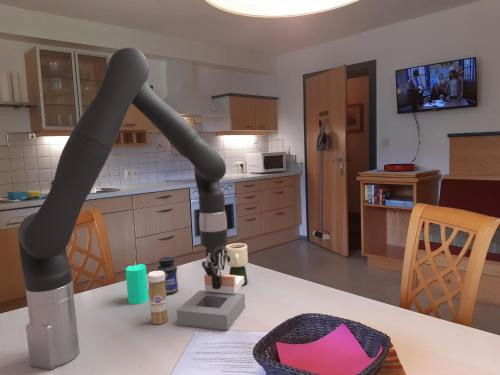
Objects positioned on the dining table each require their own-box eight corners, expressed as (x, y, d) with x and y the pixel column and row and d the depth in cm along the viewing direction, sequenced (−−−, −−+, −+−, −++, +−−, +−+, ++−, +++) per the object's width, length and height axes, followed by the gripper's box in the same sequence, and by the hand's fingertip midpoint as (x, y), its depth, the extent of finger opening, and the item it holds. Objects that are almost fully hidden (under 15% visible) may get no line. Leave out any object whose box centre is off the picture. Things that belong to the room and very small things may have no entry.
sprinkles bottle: (153, 326, 99) (149, 277, 98) (149, 319, 103) (145, 272, 102) (170, 322, 101) (166, 273, 100) (165, 315, 105) (162, 268, 104)
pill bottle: (159, 296, 119) (156, 262, 118) (158, 289, 125) (156, 257, 123) (179, 293, 120) (176, 260, 119) (177, 287, 126) (175, 254, 125)
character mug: (228, 278, 132) (226, 242, 131) (248, 277, 132) (246, 241, 131) (227, 290, 121) (225, 251, 120) (249, 289, 122) (247, 249, 120)
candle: (151, 296, 120) (148, 259, 118) (144, 304, 114) (141, 265, 112) (133, 296, 120) (129, 259, 119) (125, 304, 114) (121, 265, 113)
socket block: (227, 330, 95) (226, 315, 95) (177, 324, 99) (176, 310, 99) (245, 307, 108) (244, 293, 108) (200, 302, 113) (199, 290, 112)
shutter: (234, 294, 107) (233, 276, 107) (205, 291, 110) (204, 275, 109) (244, 282, 116) (243, 266, 115) (217, 280, 119) (216, 265, 118)
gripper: (216, 233, 97) (220, 298, 99) (234, 222, 109) (237, 280, 111) (190, 232, 99) (194, 296, 101) (210, 222, 112) (213, 278, 114)
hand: (217, 287), depth 106 cm, fingers closed
